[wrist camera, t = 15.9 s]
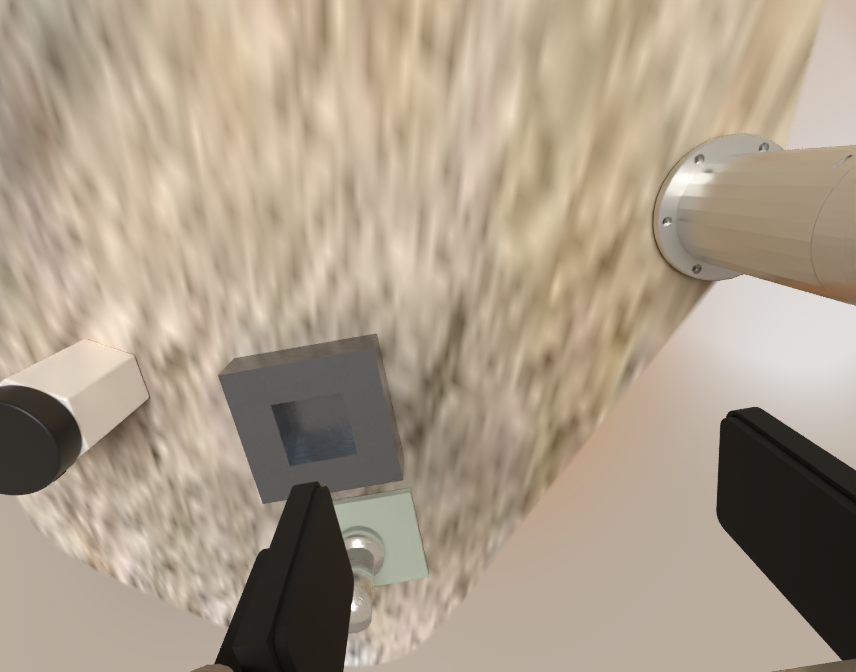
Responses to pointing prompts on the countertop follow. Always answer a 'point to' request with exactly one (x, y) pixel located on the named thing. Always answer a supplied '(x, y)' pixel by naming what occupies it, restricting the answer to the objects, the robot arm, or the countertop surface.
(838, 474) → the robot arm
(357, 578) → the grey rounded knob
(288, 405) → the housing
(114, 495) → the countertop surface
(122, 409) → the jar
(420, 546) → the mat
